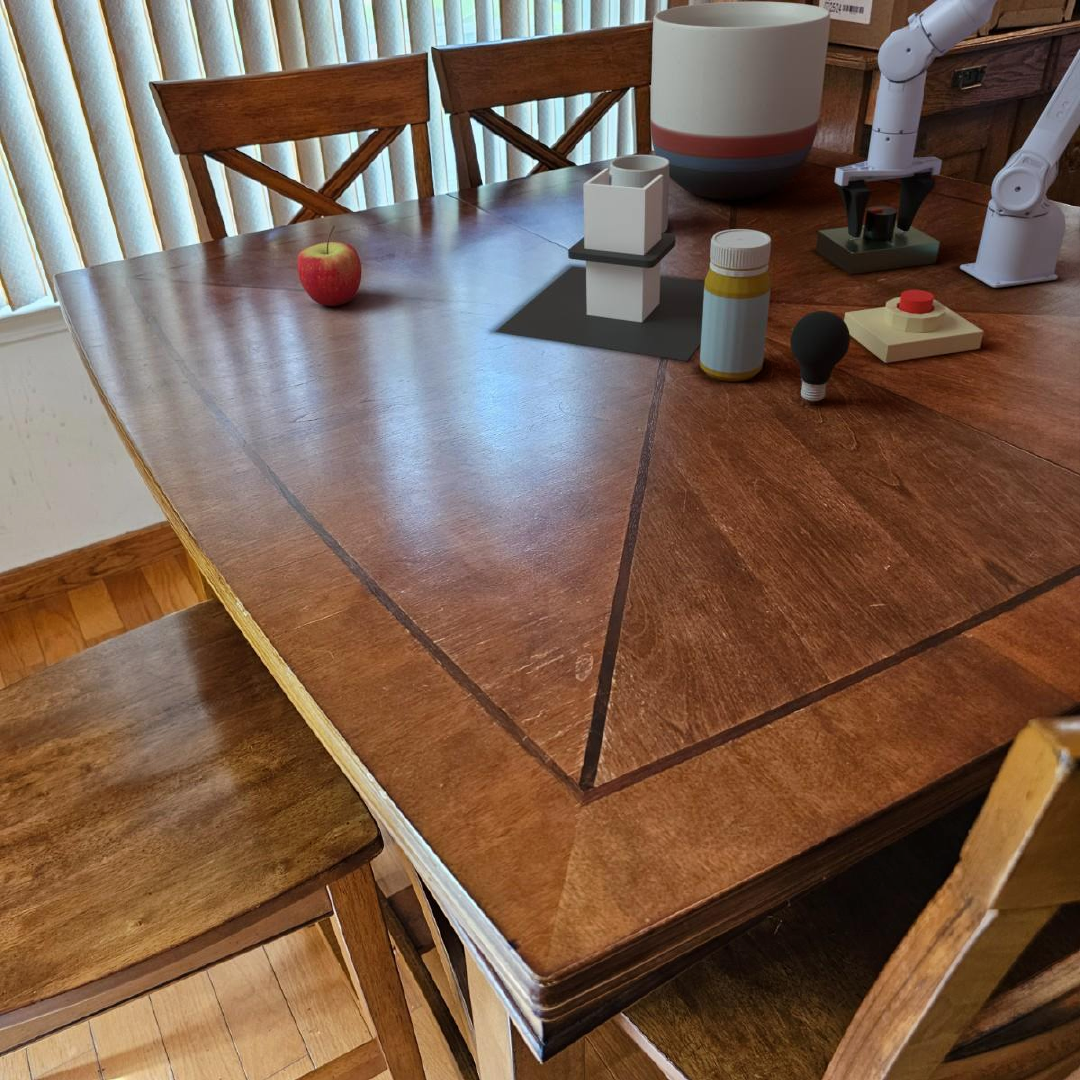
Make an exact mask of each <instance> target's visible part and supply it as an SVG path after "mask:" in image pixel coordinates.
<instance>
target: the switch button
mask: <svg viewBox="0 0 1080 1080" xmlns="http://www.w3.org/2000/svg"><path fill="white" fill-rule="evenodd" d="M934 295H935V294H933V293H932V292H930V291H928V290H927V291H926V290H922V289H907V290H904V291H902V292H901V293H900V297H901V298H900V304H899V309H900V310H901V311H904V312H908V313H911V314H925V313H930V312H931V310H932V305H933V300H935V296H934Z"/></svg>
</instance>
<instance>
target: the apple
mask: <svg viewBox="0 0 1080 1080" xmlns="http://www.w3.org/2000/svg"><path fill="white" fill-rule="evenodd" d="M335 227H336V225H333V224H332V227H331V229H330V231H329V233H328V237H327V241H326V242H321V243H317V244H314V245H312V246H308V247H307V248H305V249H303V250H301V251H300V252H299V254H298V255H297V262H296V266H297V267H296V269H297V276H298V278H299V281H300V283H301V286H302V287H303V290H304V291H305V292H306V294H307V295H308V296H309V298H311V299H312V301H314V302H316V303H317V304H318V305H322V306H327V307H338V306H341V305H345V304H347V303H348V302H350V301H351V300H353V298H355V296H356V295H357V293H358V291H359V288H360V285H361V282H362V263H361V259H360V256H359V253H358V251H357V250H356V248H355V247H354V246H353V245H351V244H350V243H347V242H341V241H330V238H331V236H332V233H333V232H334V229H335Z"/></svg>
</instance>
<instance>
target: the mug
mask: <svg viewBox="0 0 1080 1080" xmlns="http://www.w3.org/2000/svg"><path fill="white" fill-rule="evenodd" d="M669 166H670V163H669V161H668V160H667V159H666V158H663V157H659V156H656V155H653V154H631V155H625V156H620V157H617V158H615V159H613V160H611V162H610V164H609V185H612V186H623V187H634V188H644V187H645V186H646V185H647V184H649V183H650V182H651V181H652V180H654V179H655V178H656V177H657V176H659V175H663V194H662V226H661V233H666V232H667V230H668V225H669V223H668V222H669V220H668V219H669V194H670V192H669V191H670V177H669Z"/></svg>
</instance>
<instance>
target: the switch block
mask: <svg viewBox="0 0 1080 1080" xmlns="http://www.w3.org/2000/svg"><path fill="white" fill-rule="evenodd" d="M900 298H901V296H899V297H893V298H891V299H889V300H887V301H886V302H885V306H880V307H873V308H868V309H867V308H866V309H860V310H854V311H846V312H845V313H844V318H843V321H844V322H845V323H846V325H847V327H848V330H849V333H850V337H852V338H853V339H854V340H856V341H857V342H858V343H859V344H860V345H862V346H863V347H864V348H866V349H867V350H868V351H869V352H871V353H872V354H873V355H874V356H876V357H877V358H878V359H879V360H881V361H882V362H883V363H885V364H888V363H894V362H901V361H907V360H914V359H915V360H916V359H920V358H927V357H933V356H940V355H946V354H953V353H959V352H966V351H973V350H979V349H980V348H981V345H982V344H981V343H982V340H983V336H984V330H983V329H981V328H979V327H978V326H977V325H975V324H974V323H972V322H970V321H969V320H967V319H966V318H964V317H963V316H961V315H960V314H958V313H956V312H955V311H953V310H952V309H951V308H949V307H947V306H945V305H944V304H942V303H941V302H939V301H938V300H936V299H934V300H933V305H932V310H931V312H930V313H925V314H911V313H908V312H904V311H901V310H900V309H899V304H900Z"/></svg>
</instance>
